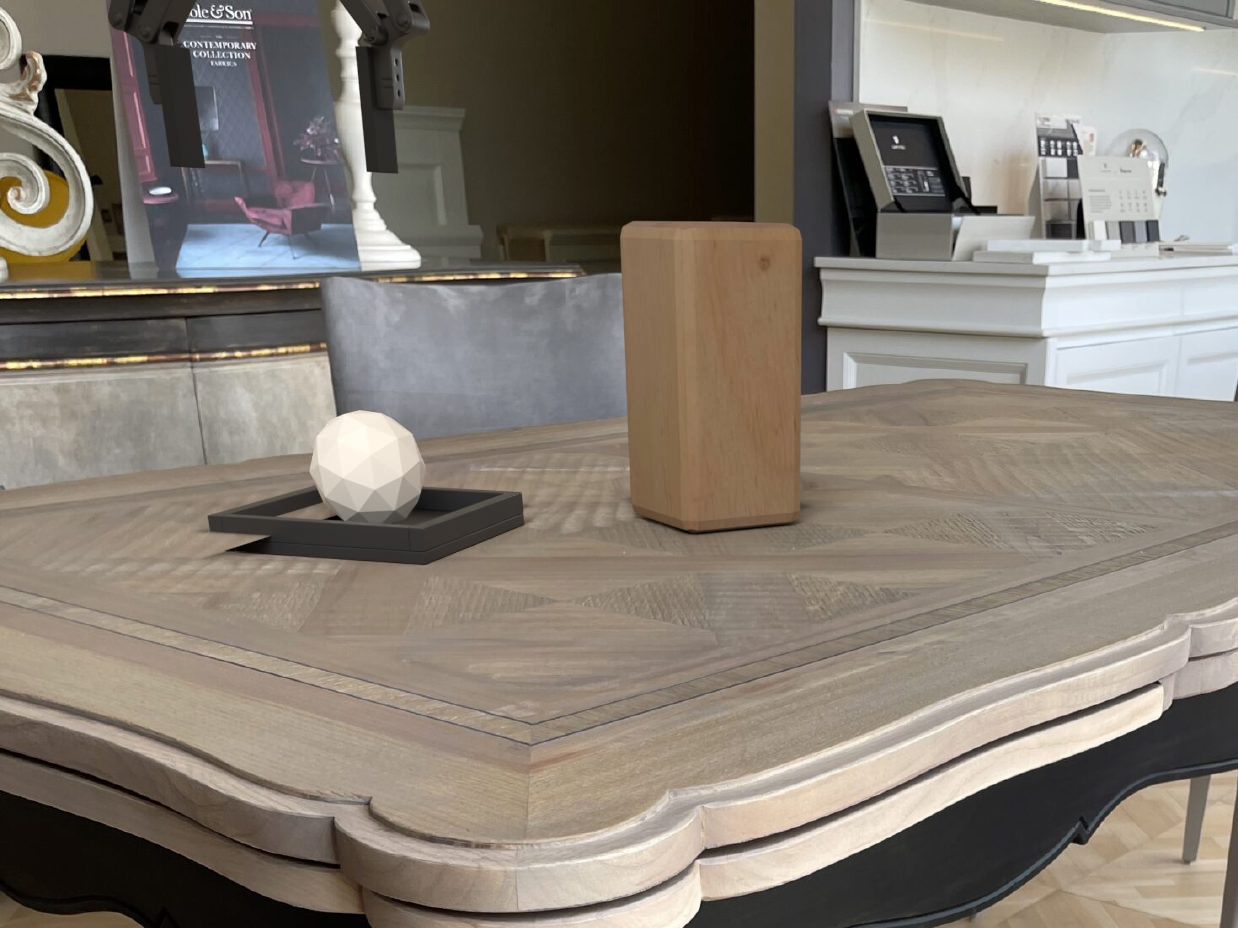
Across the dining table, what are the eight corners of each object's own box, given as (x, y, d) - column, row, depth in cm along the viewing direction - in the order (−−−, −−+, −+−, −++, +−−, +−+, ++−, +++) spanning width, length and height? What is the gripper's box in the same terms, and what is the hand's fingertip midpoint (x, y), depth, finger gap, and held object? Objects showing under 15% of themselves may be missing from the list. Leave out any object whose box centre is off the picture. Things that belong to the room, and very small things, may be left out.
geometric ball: (392, 559, 116) (437, 460, 116) (399, 536, 109) (447, 431, 109) (292, 506, 114) (339, 405, 114) (292, 479, 106) (341, 371, 106)
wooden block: (805, 524, 119) (808, 223, 110) (688, 536, 115) (680, 222, 105) (739, 505, 127) (736, 221, 117) (626, 515, 122) (613, 220, 112)
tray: (212, 550, 108) (206, 515, 107) (332, 512, 122) (328, 481, 121) (425, 564, 105) (421, 528, 104) (524, 524, 118) (522, 491, 117)
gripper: (467, -251, 90) (492, 177, 100) (85, -239, 95) (145, 167, 105) (406, -288, 84) (439, 173, 94) (-1, -273, 89) (72, 163, 99)
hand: (284, 171), depth 100 cm, fingers open, 13 cm apart
